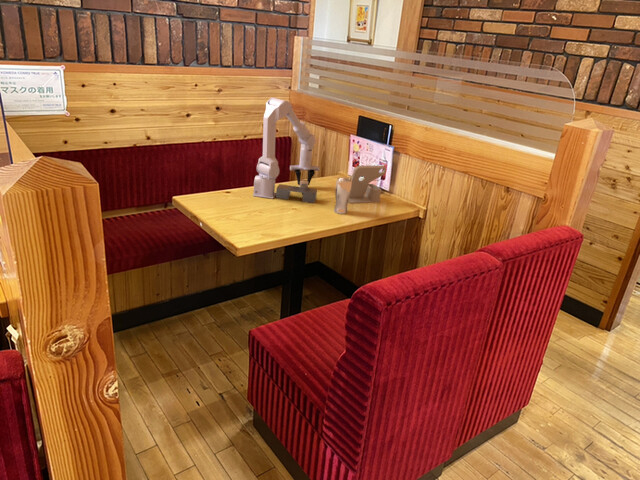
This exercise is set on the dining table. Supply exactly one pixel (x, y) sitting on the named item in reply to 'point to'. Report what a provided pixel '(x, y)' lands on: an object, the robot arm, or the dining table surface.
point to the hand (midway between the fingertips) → (303, 184)
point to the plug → (303, 184)
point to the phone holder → (365, 184)
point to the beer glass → (342, 194)
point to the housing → (285, 190)
